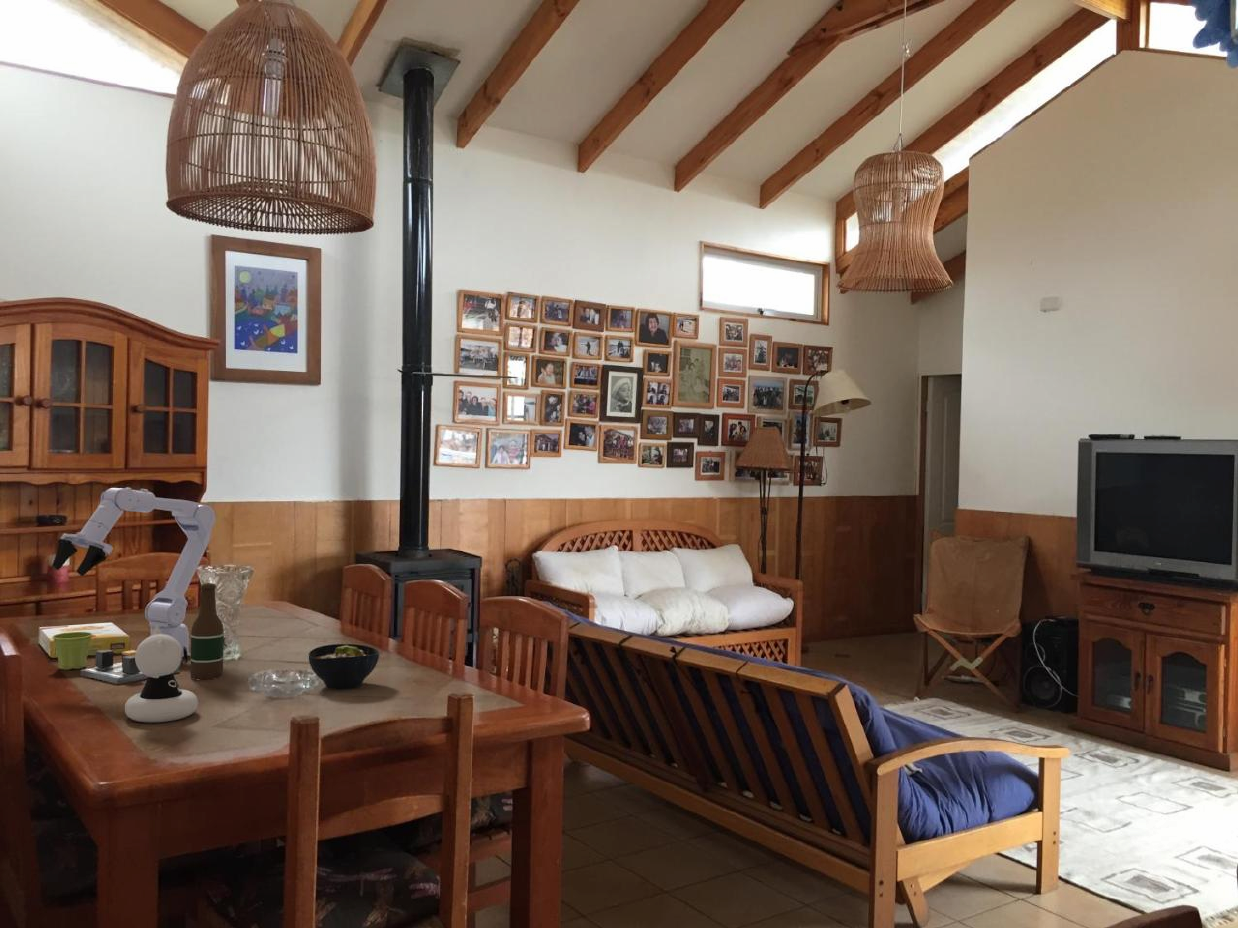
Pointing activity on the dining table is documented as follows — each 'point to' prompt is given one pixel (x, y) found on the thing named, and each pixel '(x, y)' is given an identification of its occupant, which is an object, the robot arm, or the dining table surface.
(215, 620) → the beer bottle
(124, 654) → the block
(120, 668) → the panel
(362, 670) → the bowl
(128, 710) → the decorative figurine
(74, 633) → the plant pot
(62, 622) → the dining table surface
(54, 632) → the cereal box
